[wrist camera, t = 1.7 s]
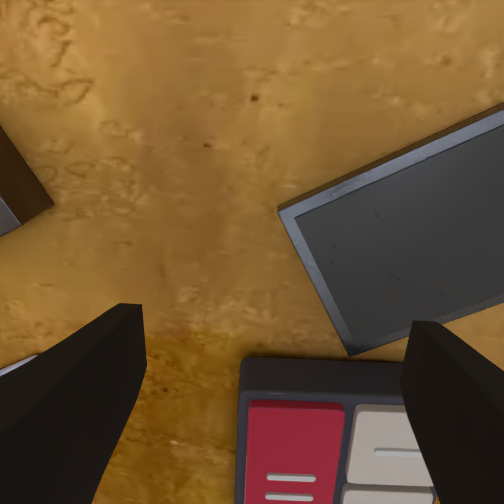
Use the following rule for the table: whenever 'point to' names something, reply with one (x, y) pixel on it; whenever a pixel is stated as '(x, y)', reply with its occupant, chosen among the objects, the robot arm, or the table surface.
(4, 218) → the stand
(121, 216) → the table surface
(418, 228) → the tablet
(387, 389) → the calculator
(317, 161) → the table surface
